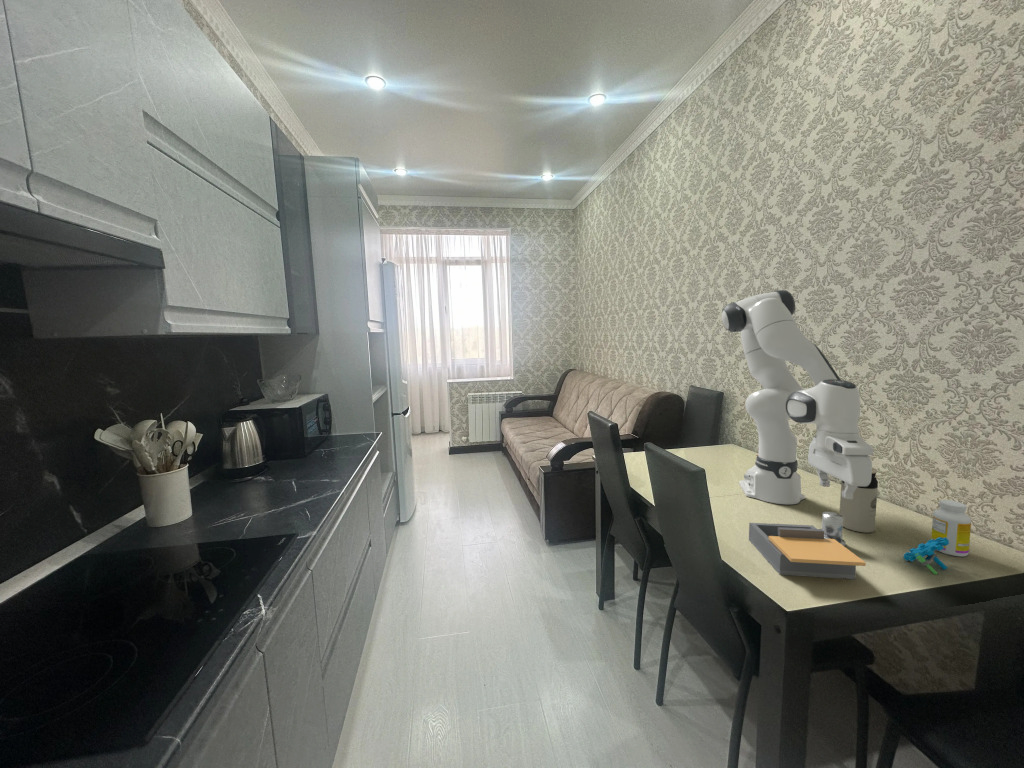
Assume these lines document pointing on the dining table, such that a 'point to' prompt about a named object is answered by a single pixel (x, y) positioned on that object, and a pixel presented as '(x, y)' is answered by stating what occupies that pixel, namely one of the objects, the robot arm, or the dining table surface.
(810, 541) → the lid
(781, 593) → the dining table surface
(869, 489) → the travel mug
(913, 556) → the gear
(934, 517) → the supplement bottle
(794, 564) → the housing
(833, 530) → the silver rounded cylinder
